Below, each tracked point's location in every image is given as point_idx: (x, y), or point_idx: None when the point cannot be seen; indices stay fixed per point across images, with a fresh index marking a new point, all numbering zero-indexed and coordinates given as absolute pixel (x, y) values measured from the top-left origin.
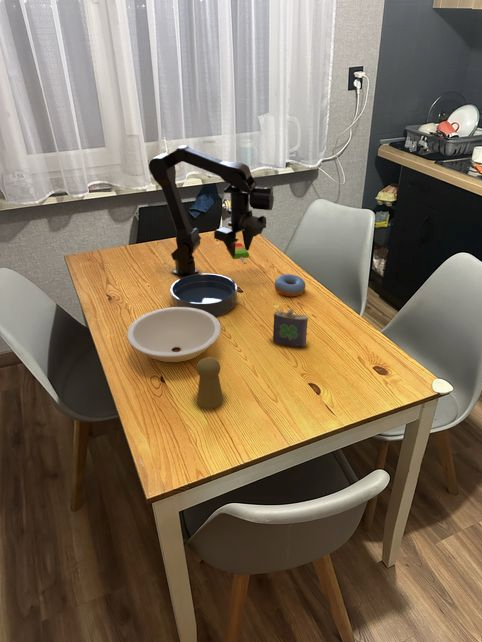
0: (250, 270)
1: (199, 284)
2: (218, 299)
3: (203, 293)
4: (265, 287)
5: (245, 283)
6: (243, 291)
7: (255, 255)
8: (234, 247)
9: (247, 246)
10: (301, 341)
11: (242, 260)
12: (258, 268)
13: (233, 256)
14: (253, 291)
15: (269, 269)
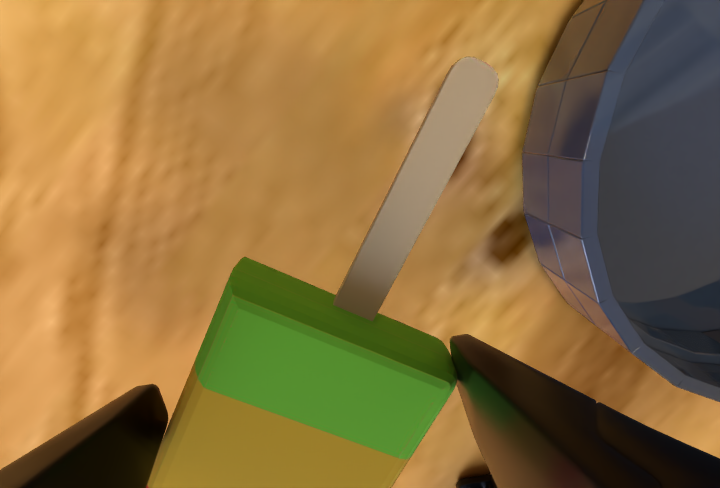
0: (175, 315)
1: (639, 325)
2: (684, 88)
3: (672, 234)
4: (257, 15)
5: (337, 180)
6: (437, 87)
7: (9, 460)
8: (584, 426)
9: (123, 437)
10: None
11: (443, 176)
12: (105, 304)
13: (473, 341)
14: (379, 30)
15: (38, 242)
